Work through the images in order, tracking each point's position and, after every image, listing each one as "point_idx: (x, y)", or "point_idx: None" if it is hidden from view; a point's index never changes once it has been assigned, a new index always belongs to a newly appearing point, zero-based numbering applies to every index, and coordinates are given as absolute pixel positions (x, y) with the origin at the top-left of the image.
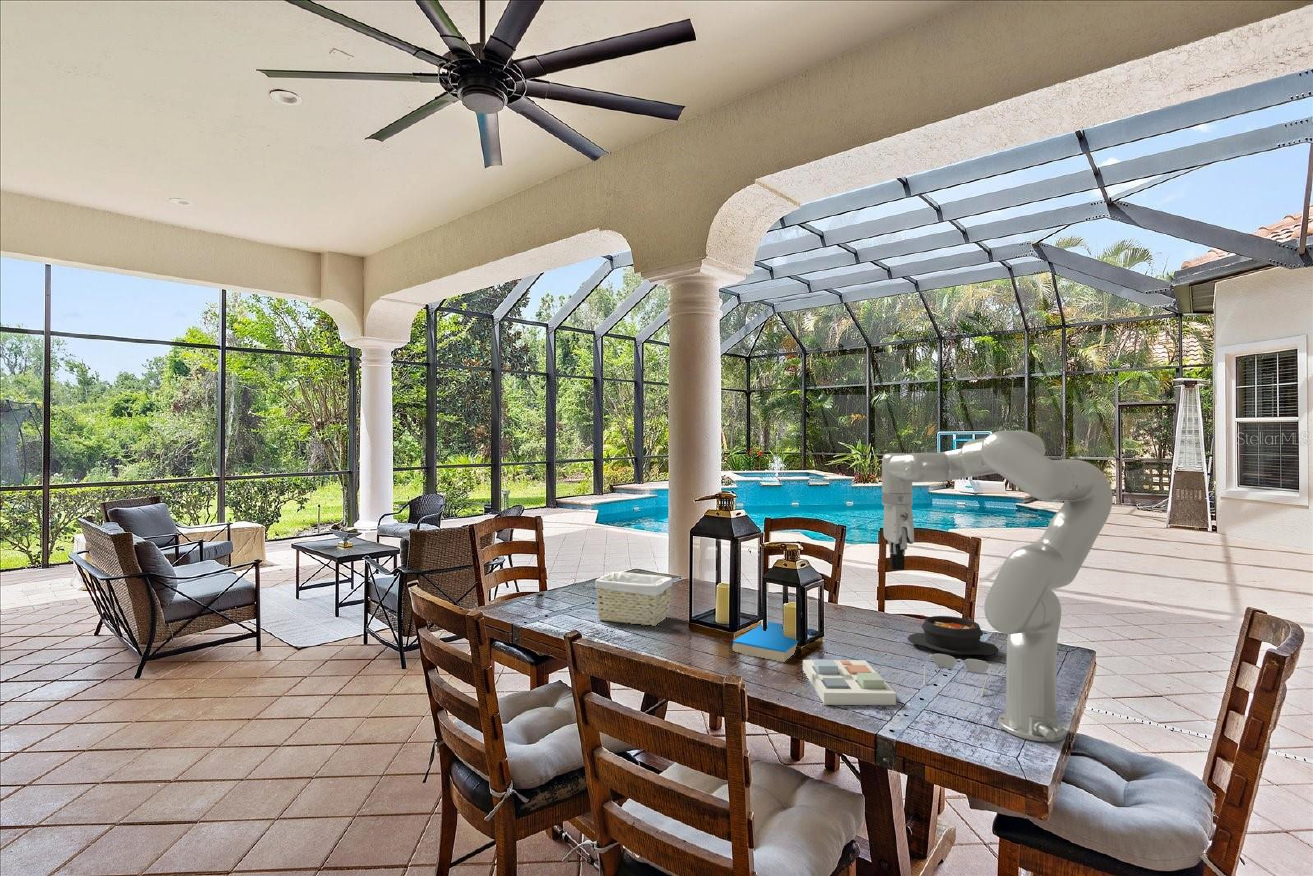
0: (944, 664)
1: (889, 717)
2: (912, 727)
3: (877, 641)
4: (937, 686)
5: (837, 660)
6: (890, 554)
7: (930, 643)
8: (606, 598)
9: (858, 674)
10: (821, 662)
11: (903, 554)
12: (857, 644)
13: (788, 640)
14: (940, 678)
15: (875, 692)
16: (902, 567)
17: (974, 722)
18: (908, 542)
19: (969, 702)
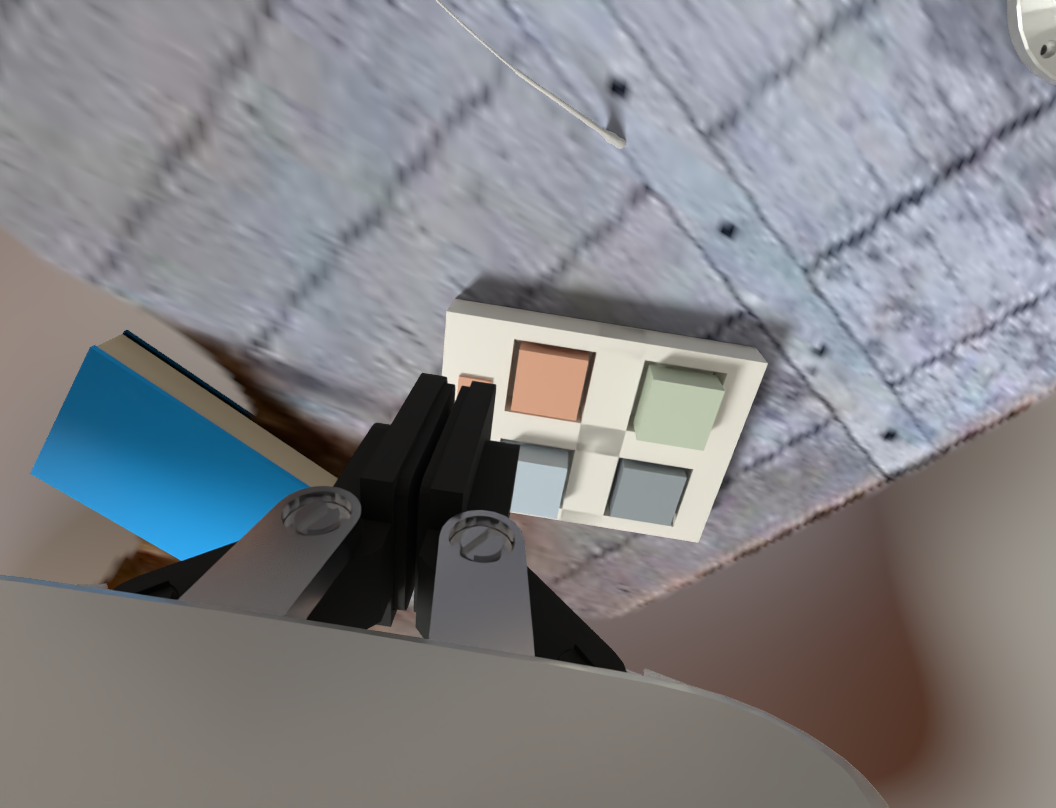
0: None
1: (817, 402)
2: (899, 375)
3: (63, 52)
4: (637, 90)
5: None
6: (387, 616)
7: None
8: None
9: (652, 442)
10: (526, 500)
11: (511, 535)
12: (134, 178)
13: (250, 481)
14: (557, 13)
15: (740, 418)
16: (490, 410)
17: (966, 157)
18: (451, 645)
19: (818, 51)
